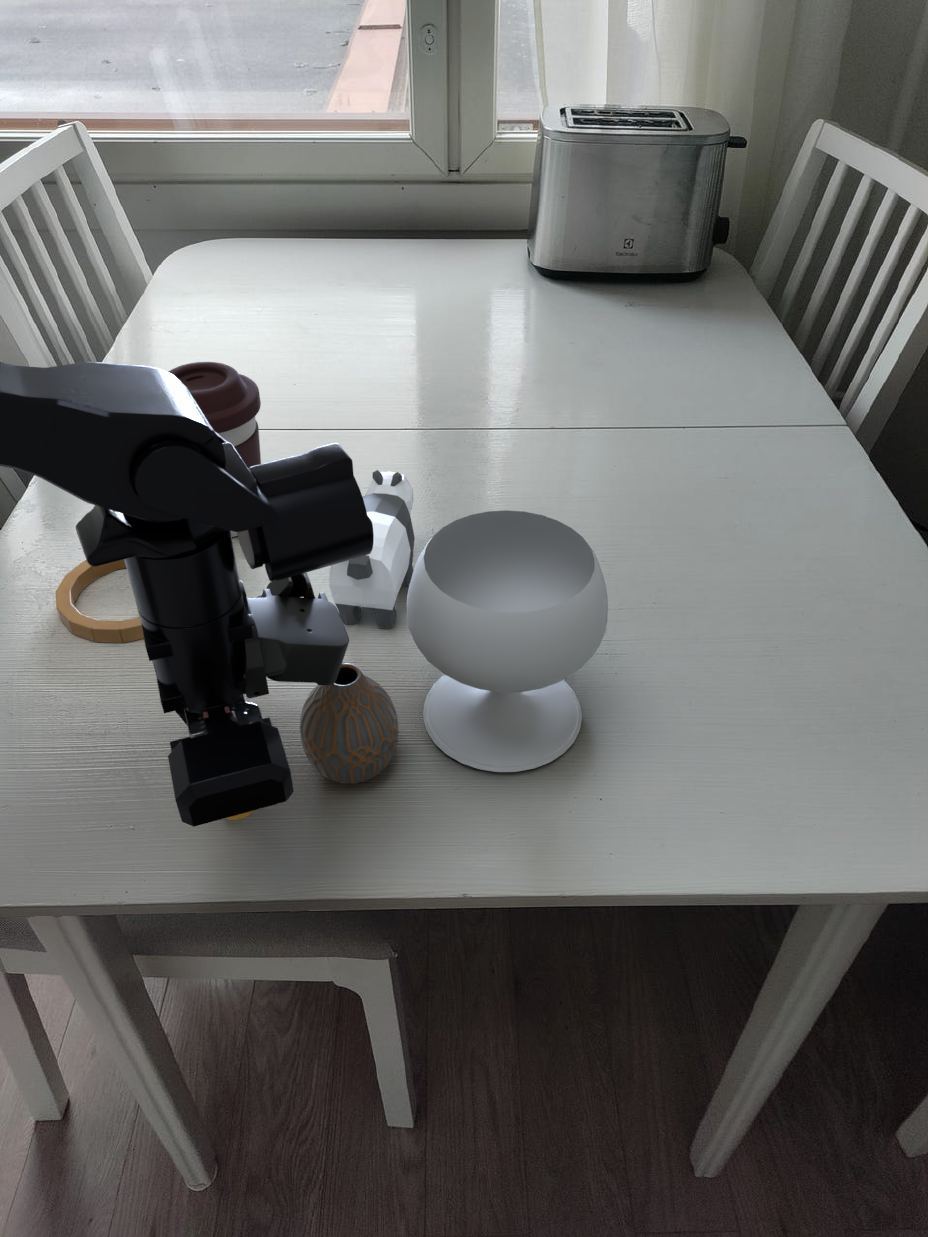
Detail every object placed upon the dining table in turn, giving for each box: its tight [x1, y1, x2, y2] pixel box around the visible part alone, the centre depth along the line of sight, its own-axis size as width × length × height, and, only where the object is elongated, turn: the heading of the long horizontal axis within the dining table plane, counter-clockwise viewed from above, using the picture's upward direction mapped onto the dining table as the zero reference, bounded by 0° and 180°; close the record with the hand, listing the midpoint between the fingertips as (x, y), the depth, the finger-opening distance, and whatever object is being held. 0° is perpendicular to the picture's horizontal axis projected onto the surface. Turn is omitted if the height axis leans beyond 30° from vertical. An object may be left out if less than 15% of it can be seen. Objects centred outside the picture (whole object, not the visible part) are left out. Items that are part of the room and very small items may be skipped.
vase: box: [299, 662, 399, 785], centre depth 67 cm, size 7×7×9 cm
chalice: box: [406, 509, 609, 773], centre depth 69 cm, size 14×14×15 cm
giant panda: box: [329, 469, 416, 630], centre depth 83 cm, size 15×6×10 cm, turn 170°
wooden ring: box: [55, 559, 144, 644], centre depth 84 cm, size 12×12×2 cm
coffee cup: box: [167, 361, 262, 538], centre depth 89 cm, size 10×10×15 cm
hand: (231, 778), depth 64 cm, fingers closed on pencil stub, 3 cm apart
